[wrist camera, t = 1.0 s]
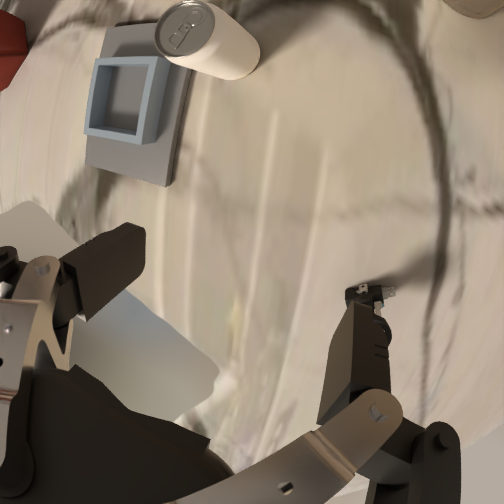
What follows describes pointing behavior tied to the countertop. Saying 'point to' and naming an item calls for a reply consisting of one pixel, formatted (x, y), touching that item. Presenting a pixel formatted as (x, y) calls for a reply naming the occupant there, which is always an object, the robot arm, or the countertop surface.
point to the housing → (134, 106)
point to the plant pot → (11, 47)
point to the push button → (372, 302)
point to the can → (206, 40)
